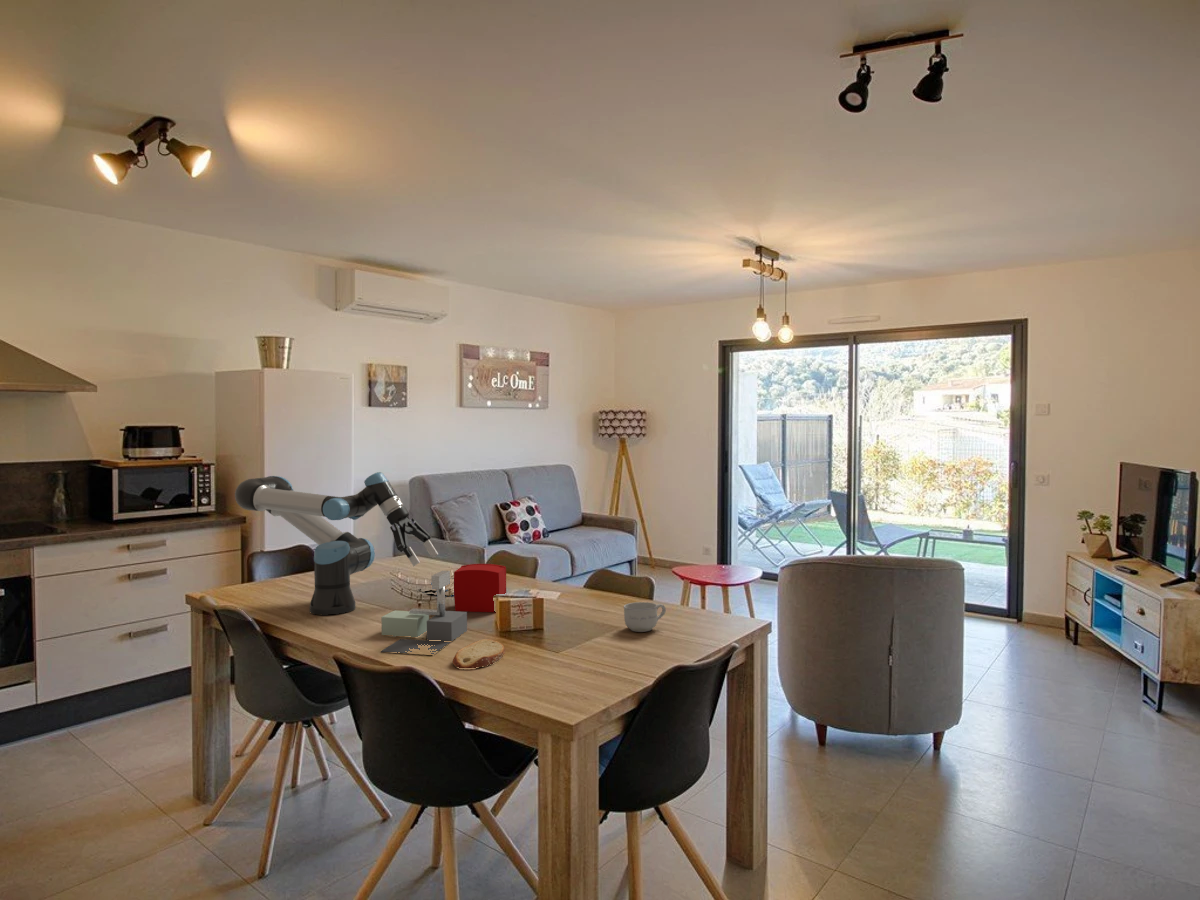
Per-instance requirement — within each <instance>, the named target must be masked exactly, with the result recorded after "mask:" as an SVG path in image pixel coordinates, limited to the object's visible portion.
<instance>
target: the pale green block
mask: <svg viewBox="0 0 1200 900" xmlns="http://www.w3.org/2000/svg"><path fill="white" fill-rule="evenodd" d="M409 611H410V610H409ZM409 611H408V610H396V609H395V610H393V611H391V612H389V613H386V614H384V615H383V616H381V636H382V635H393V636H392V637H396V636H411V637H418V636H420V635H421V634H423V633H424V632H426V631H427V620H429V619H430V615H423V614H409ZM426 633H427V632H426ZM423 635H424V634H423ZM421 636H422V635H421ZM421 636H420V637H421ZM418 638H419V637H418Z"/></svg>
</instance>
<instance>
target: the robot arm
mask: <svg viewBox="0 0 1200 900" xmlns="http://www.w3.org/2000/svg"><path fill="white" fill-rule="evenodd" d="M363 482H364V485H365V487H364V488H363V489H362V490H361V491H359V492H358V493H356V494H351V495H346V496H335V495H326V494H318V493H317V494H316V493H311V492H302V491H295V490H294V488H293V485H292V483H291V482H290V481H289V480H288V479H287V478H285V477H283V476H279V475H278V476H277V475H276V476H275V475H269V476H266V477H265V476H264V477H257V478H255V477H254V478H248V479H246V480H243V481H242V482H240V483H239V484H238V485H237V486H236V488H235V491H234V498H235V502H236V504H237V505H238V506H239V507H240V508H242V509H244V510H246V511H254V512H255V511H256V512H265V511H266V512H267V513H269V514H270V515H271V516H273V517H279V516H280V517H281V518H282V519H284V520H285V521H286V522H288V523H289V524H290V525H292V526H293V527H295V528H296V529H297V530H298V531H300V532H301V533H302V534H304V535H305V536H306V537H308V539H310V540H312V541H313V542H314V543H316V544H317V546H316V547H315V548H314V556H313V565H314V567H313V570H314V571H313V573H314V591H313V593H312V598H311V599H310V603H309V613H310V612H311V613H314V614H313V615H315V614H322V615H321V616H329V615H328V614H336V615H340V614H339V613H342V614H346V613H345V612H347V613H350V612H352V611H354V610H356V608H357V607H356V606H357V605H356V600H355V596H354V593H353V592H352V589H351V575H354V574H356V573H358V572H363V571H364V570H366V569H368V568H370V566H372V564H373V562H374V561H375V556H376V555H375V554H376V551H375V548H374V545H373V543H372V542H371V541H370V540H368V539H367V538H362V537H359V538H358V537H356V535H354V534H352V533H351V532H349V531H343V532H342V531H341V530H340V529H338V527H335V526H334V525H333V524H331V522H329V521H327V520H326V519H328V520H330V521H341V520H343V519H350V520H354V521H356V520H358V519H360V518H361V517H363V516H365V515H366V514H367V513H368V512H369V511H371V510H372V509H374V508H375V507H376V506H378V507H379V508H380V510H381V512H382V514H383V515H384V516H385V517H386V520H387V521H388V522H389V524H390V527H389V529H390V531H391V533H392V535H393V538H394V542H395V545H396V549H397V550H398V551H399V552H400V553H402V552H404V554H405V556H406V557H407V559H408V560H409V562H410V563H411V565H412V566H413V567H415V566H417V565H418V564H419V563H421V561H420V560H419V558H418V557H417V555H416V553H415V552H414V550H413V549H412V547H411V546H409V541H408V539H409V538H408V534H410V535H413V536H414V537H415V538H417V539H418V540H420V541H421V542H423V543H422V544H423V545H422V546H424V548H425V550H426V551H427V552H428V555H429V556H430V558H431V559H434V558H435V557H437V556H438V555H439V552H438V551H437V549H436V548H435V546H434V545H433V543H432V541H431V540H430V539H431V538H432V535H431V534H430V533H429V532H428V531H427V530H426V529H425V528H424V527H423V526H421V524H419V522H418V521H417V520H416V518H415V517H412V518H411V519H410V518H409V516H410V512H409V510H407V508H406V506H405V505H404V503H403V502H402V500H401V498H400V497H399V496H398V494H397V493H396V491H395V489H394V487H393V486H392V485H391V483H390V480H389V479H388V478H387V476H385V474H384V473H383V472H381V471H379V472H375V473H373V474H371V475H369V476H368V477H367V478H366V479H365V480H364V481H363ZM325 518H326V519H325ZM349 611H350V612H349ZM311 613H310V614H311Z"/></svg>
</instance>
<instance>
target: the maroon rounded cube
mask: <svg viewBox="0 0 1200 900" xmlns="http://www.w3.org/2000/svg"><path fill="white" fill-rule="evenodd" d="M453 579H454V596H453V598H454V599H453V600H454V610H455V611H459V612H467V613H468V612H471V613H472V612H473V613H495V612H494V601H493V596H494V595H496V594H505V593H506V594H507V567H506V566H505V565H499V564H492V563H471V564H464V565H461V566H460V567H459V568H457V569H456V570H454V571H453Z"/></svg>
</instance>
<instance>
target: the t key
mask: <svg viewBox="0 0 1200 900" xmlns="http://www.w3.org/2000/svg"><path fill="white" fill-rule="evenodd" d="M430 577H431V579H430V580H431V582H430V583H431V585H432V589H437V591H436V592H437V596H436V609H430V608H429V609H428V608H427V609H426V608H415V607H414V608H411V609H410V610H409V614H423V615H429V616H435V615H437V616H444V615H445V611H446V596H445V586H446V585H448V584H450V579H451V570H440V571H439V572H437V573H435V574H433V575H431V576H430Z"/></svg>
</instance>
